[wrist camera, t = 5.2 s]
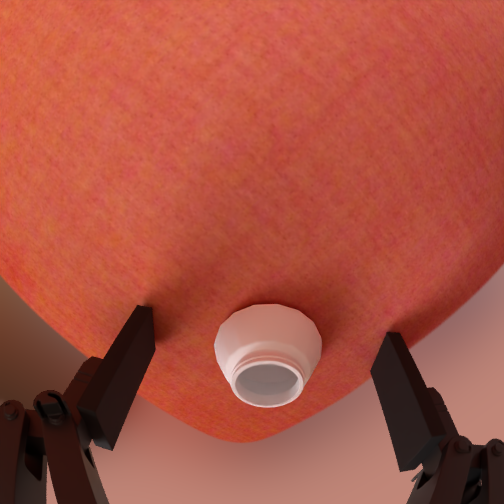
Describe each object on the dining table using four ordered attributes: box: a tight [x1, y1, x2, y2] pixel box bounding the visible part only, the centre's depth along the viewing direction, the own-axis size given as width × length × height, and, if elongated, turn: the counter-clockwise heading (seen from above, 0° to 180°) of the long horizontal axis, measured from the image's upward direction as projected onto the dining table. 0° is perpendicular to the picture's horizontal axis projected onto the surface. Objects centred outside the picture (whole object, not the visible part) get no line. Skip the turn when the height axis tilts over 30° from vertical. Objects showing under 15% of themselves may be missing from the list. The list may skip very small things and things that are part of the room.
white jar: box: [214, 304, 322, 407], centre depth 13 cm, size 5×3×5 cm
